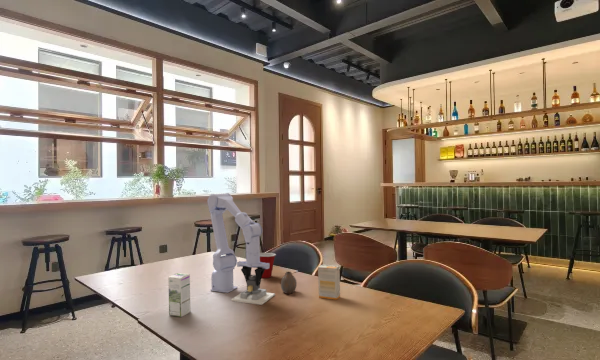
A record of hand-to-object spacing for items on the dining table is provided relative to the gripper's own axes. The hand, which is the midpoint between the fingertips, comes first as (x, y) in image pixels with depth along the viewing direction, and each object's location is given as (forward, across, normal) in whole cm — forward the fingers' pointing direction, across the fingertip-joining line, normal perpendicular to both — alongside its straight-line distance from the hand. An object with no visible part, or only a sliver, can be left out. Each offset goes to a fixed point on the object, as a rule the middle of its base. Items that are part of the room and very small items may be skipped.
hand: (253, 284), depth 142 cm
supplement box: (+6, +30, +11) cm, 32 cm away
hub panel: (+6, 0, 0) cm, 6 cm away
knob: (+2, 0, 0) cm, 2 cm away
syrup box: (+6, -18, -24) cm, 31 cm away
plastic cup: (+6, -10, +31) cm, 33 cm away
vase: (+6, +11, +12) cm, 17 cm away
